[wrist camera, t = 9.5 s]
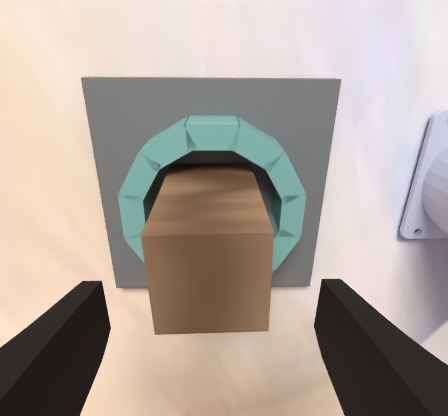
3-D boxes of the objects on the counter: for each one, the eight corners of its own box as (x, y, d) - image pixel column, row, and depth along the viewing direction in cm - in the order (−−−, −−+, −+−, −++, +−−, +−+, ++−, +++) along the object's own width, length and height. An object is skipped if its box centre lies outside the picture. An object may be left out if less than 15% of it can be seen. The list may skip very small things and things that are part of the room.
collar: (335, 78, 17) (361, 82, 14) (306, 278, 22) (321, 312, 19) (86, 76, 16) (58, 80, 13) (119, 280, 22) (104, 315, 19)
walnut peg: (249, 162, 18) (274, 232, 11) (248, 230, 20) (268, 331, 12) (171, 163, 18) (140, 235, 10) (177, 232, 20) (155, 334, 12)
